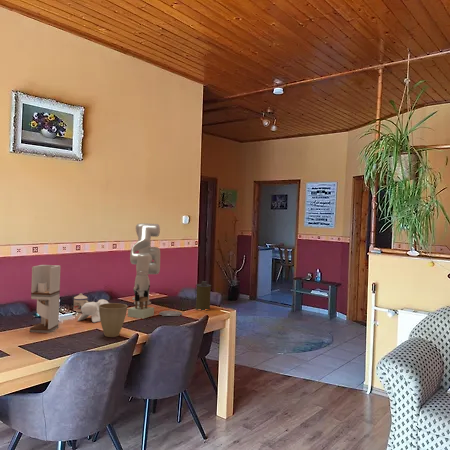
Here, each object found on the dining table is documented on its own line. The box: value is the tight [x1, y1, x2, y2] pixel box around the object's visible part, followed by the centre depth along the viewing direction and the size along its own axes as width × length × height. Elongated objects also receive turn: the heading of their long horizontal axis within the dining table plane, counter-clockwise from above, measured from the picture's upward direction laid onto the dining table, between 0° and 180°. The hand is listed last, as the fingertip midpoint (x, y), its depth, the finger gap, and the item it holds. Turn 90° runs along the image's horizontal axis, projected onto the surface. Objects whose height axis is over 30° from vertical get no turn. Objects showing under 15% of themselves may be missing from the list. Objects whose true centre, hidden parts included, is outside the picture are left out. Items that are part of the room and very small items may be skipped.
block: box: [127, 305, 155, 319], centre depth 277 cm, size 12×12×5 cm
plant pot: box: [99, 302, 128, 338], centre depth 228 cm, size 15×15×16 cm
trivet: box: [158, 310, 183, 317], centre depth 284 cm, size 15×15×1 cm
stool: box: [134, 296, 148, 309], centre depth 277 cm, size 6×6×7 cm
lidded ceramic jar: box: [72, 293, 90, 313], centre depth 284 cm, size 12×9×12 cm
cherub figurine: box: [77, 298, 109, 324], centre depth 263 cm, size 13×12×20 cm
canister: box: [195, 280, 212, 311], centre depth 306 cm, size 11×10×20 cm
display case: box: [29, 264, 62, 334], centre depth 234 cm, size 11×11×35 cm
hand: (141, 299), depth 277 cm, fingers open, 9 cm apart
